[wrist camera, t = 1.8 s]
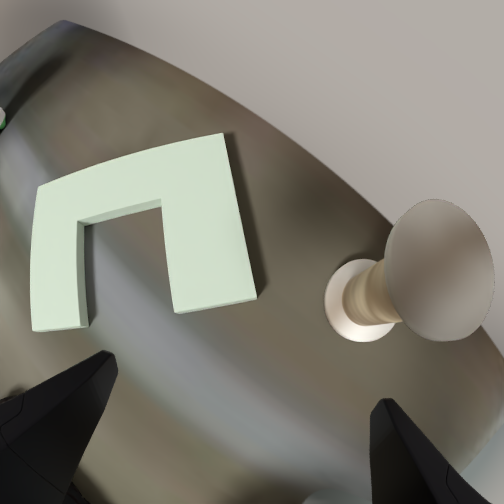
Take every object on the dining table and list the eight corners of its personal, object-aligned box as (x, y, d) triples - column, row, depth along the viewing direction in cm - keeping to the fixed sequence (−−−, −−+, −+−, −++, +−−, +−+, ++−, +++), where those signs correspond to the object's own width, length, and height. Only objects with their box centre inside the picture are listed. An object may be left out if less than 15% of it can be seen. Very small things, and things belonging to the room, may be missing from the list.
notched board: (256, 299, 23) (257, 297, 21) (41, 331, 22) (32, 330, 20) (224, 142, 27) (222, 132, 26) (44, 192, 26) (38, 187, 25)
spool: (408, 306, 23) (507, 276, 11) (355, 358, 21) (447, 371, 9) (364, 246, 24) (441, 177, 12) (306, 294, 23) (363, 251, 11)
